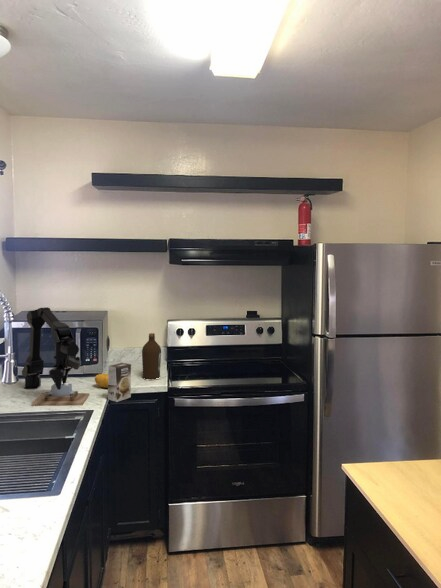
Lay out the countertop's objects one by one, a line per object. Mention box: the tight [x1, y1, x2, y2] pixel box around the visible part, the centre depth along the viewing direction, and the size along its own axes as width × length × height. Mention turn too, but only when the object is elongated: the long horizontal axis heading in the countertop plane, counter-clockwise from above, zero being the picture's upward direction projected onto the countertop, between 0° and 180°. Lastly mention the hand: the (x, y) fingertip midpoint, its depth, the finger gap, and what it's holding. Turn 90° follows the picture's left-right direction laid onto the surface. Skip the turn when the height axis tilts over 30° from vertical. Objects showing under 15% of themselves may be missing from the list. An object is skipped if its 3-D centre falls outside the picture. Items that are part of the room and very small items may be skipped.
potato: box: [94, 373, 108, 389], centre depth 223 cm, size 7×14×7 cm, turn 68°
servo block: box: [48, 382, 76, 396], centre depth 201 cm, size 11×4×7 cm, turn 96°
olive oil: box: [141, 332, 162, 380], centre depth 242 cm, size 11×11×25 cm
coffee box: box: [107, 362, 132, 403], centre depth 205 cm, size 9×6×16 cm
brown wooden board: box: [31, 390, 90, 407], centre depth 201 cm, size 22×15×3 cm
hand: (61, 386), depth 201 cm, fingers open, 9 cm apart
